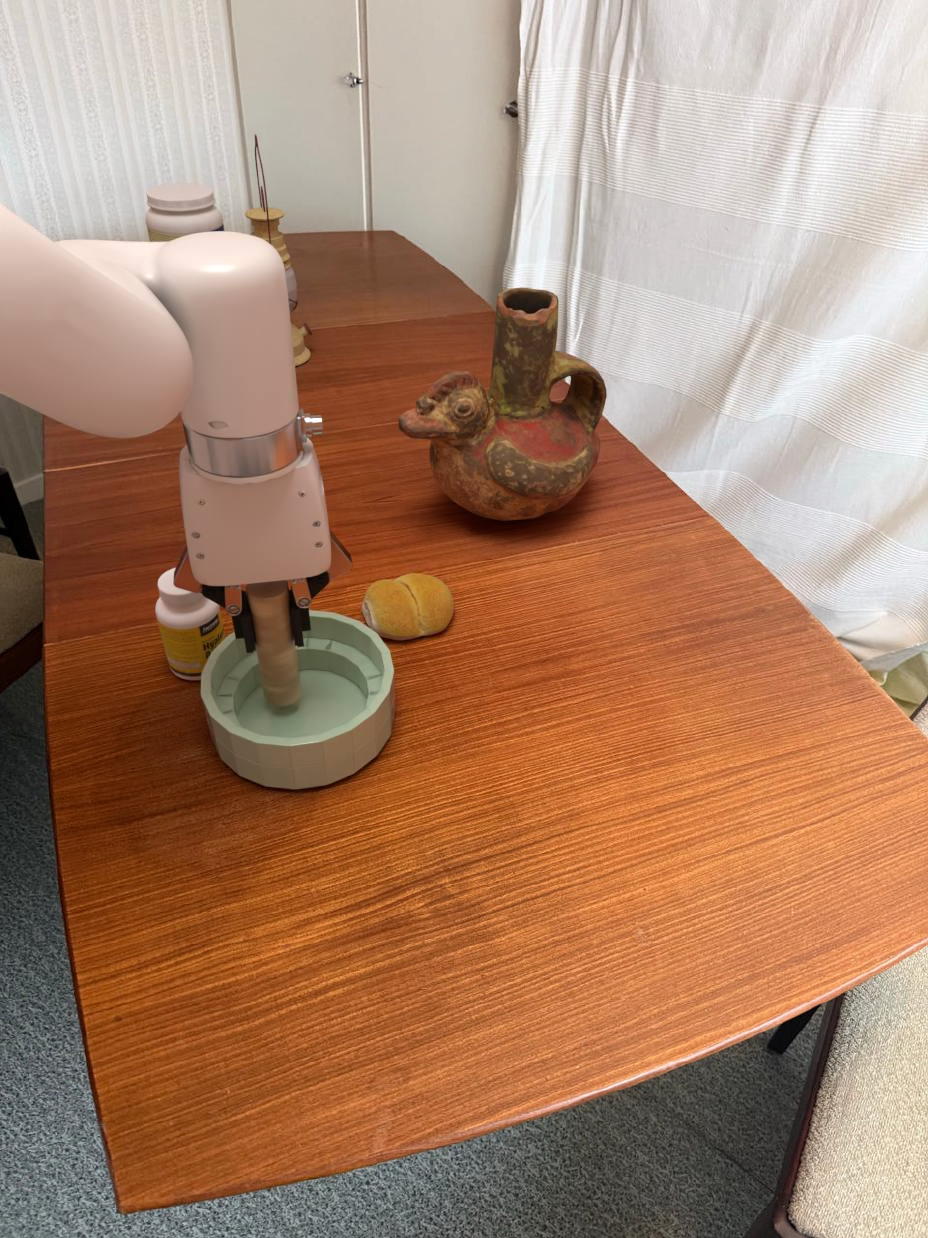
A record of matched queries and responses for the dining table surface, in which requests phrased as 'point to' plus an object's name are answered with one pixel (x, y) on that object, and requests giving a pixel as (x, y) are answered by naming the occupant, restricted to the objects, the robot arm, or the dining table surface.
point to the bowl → (303, 706)
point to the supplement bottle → (187, 627)
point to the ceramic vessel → (514, 419)
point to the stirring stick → (275, 641)
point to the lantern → (267, 230)
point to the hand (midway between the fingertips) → (274, 636)
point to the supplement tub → (181, 211)
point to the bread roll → (408, 606)
